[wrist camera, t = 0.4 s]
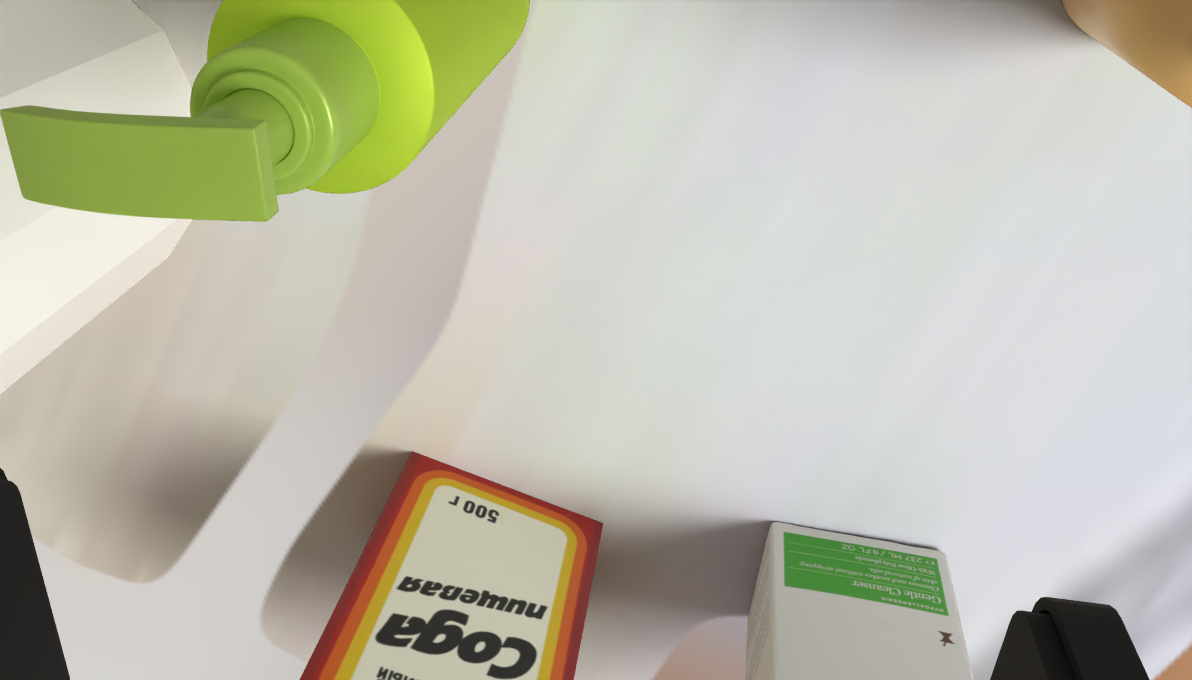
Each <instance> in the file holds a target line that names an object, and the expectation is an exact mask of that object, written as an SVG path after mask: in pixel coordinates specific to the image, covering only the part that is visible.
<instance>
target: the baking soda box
mask: <svg viewBox="0 0 1192 680" xmlns="http://www.w3.org/2000/svg"><path fill="white" fill-rule="evenodd" d="M602 526H603V523H601V522H598V521H595V520H593V519H590V518H587V517H585V516H582V515H579V514H577V513H574V512H571V511H569V510H566V509H564V508H561V507H558V506H556V505H553V504H550V503H548V502H545V501H542V500H540V499H537V498H534V497H532V496H529V495H526V494H524V493H521V492H519V491H516V490H513V489H511V488H508V487H505V486H503V485H500V484H497V483H495V482H492V481H489V480H487V479H484V478H481V477H479V476H476V475H474V474H471V473H468V472H466V471H463V470H460V469H458V468H455V467H452V466H450V465H447V464H444V463H442V462H439V461H437V460H434V459H431V458H429V457H426V456H423V455H421V454H418V453H415V452H412V454H411V456H410V458H409V460H408V462H407V464H406V466H405V468H404V470H403V472H402V474H401V476H400V478H399V480H398V482H397V484H396V486H395V488H394V490H393V492H392V494H391V496H390V498H389V500H388V503H387V505H386V507H385V509H384V511H383V513H382V515H381V517H380V519H379V521H378V523H377V525H376V527H375V529H374V531H373V533H372V535H371V537H370V539H369V541H368V543H367V545H366V547H365V549H364V551H363V553H362V555H361V557H360V559H359V561H358V563H357V565H356V567H355V569H354V571H353V573H352V575H351V577H350V579H349V581H348V583H347V585H346V587H345V589H344V591H343V593H342V595H341V597H340V599H339V601H338V603H337V605H336V607H335V609H334V611H333V614H332V616H331V618H330V620H329V622H328V624H327V626H326V628H325V630H324V632H323V634H322V636H321V638H320V640H319V642H318V644H317V646H316V648H315V650H314V652H313V654H312V656H311V658H310V660H309V662H308V664H307V666H306V668H305V670H304V672H303V674H302V676H301V678H300V680H574V675H575V670H576V664H577V659H578V654H579V648H580V643H581V638H582V632H583V627H584V622H585V616H586V611H587V606H588V600H589V595H590V590H591V585H592V579H593V574H594V569H595V563H596V558H597V553H598V547H599V542H600V537H601V531H602Z"/></svg>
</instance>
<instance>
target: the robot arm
mask: <svg viewBox="0 0 1192 680" xmlns="http://www.w3.org/2000/svg"><path fill="white" fill-rule="evenodd" d="M0 680H70V677H69V673H68V669H67V665H66V661H65V658H64V654H63V651H62V647H61V643H60V639H59V635H58V632H57V628H56V624H55V621H54V617H53V613H52V609H51V606H50V602H49V598H48V595H47V591H46V587H45V584H44V580H43V576H42V572H41V569H40V565H39V561H38V558H37V554H36V550H35V547H34V543H33V539H32V535H31V532H30V528H29V524H28V520H27V517H26V513H25V509H24V506H23V502H22V498H21V494H20V492H19V490H18V487H17V486H16V485H15V484H14V483H13V482H11V481H8V480H7V478H6V476H5V473H4V471H3V470H2V469H1V468H0ZM990 680H1149V678H1148V675H1147V673H1146V671H1145V669H1144V667H1143V665H1142V662H1141V660H1140V658H1139V656H1138V654H1137V652H1136V649H1135V647H1134V645H1133V643H1132V641H1131V638H1130V636H1129V634H1128V632H1127V630H1126V628H1125V625H1124V623H1123V621H1122V619H1121V617H1120V616H1119V614H1118V612H1117V611H1116V609H1114V608H1113V607H1111V606H1110V605H1105V604H1097V603H1089V602H1081V601H1073V600H1066V599H1058V598H1050V597H1043V598H1040V599H1039V600H1038V601H1037V602H1036V604H1035V606H1034V608H1033V610H1032V612H1028V611H1016V612H1015V613H1014V615H1013V616H1012V619H1011V621H1010V623H1009V626H1008V629H1007V632H1006V635H1005V638H1004V641H1003V644H1002V647H1001V650H1000V653H999V656H998V658H997V661H996V664H995V667H994V670H993V673H992V676H991V679H990Z"/></svg>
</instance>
